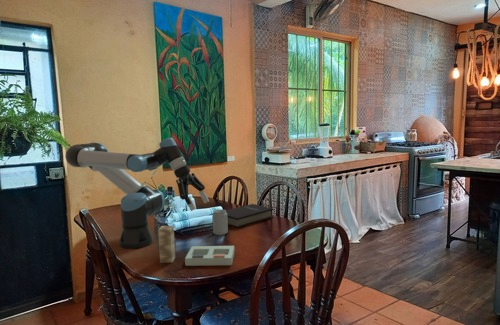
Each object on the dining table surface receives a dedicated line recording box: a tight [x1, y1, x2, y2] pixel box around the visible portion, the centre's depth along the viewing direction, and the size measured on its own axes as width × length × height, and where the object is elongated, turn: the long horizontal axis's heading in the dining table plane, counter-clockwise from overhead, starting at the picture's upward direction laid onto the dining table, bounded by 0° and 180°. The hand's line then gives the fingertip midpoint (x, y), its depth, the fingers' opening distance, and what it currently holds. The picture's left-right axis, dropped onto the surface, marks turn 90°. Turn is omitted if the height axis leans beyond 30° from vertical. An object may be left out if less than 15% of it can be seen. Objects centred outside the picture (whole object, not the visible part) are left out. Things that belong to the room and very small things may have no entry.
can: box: [212, 209, 229, 236], centre depth 177 cm, size 8×8×12 cm
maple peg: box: [157, 225, 176, 264], centre depth 144 cm, size 5×5×14 cm
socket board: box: [184, 245, 235, 267], centre depth 145 cm, size 19×14×4 cm
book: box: [225, 203, 274, 229], centre depth 202 cm, size 28×20×6 cm
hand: (200, 206), depth 169 cm, fingers open, 13 cm apart
